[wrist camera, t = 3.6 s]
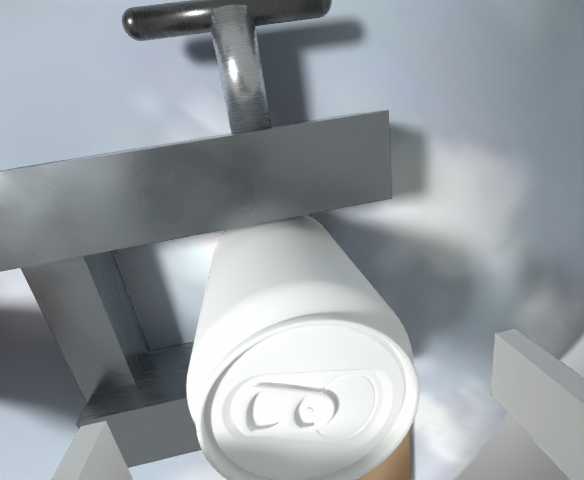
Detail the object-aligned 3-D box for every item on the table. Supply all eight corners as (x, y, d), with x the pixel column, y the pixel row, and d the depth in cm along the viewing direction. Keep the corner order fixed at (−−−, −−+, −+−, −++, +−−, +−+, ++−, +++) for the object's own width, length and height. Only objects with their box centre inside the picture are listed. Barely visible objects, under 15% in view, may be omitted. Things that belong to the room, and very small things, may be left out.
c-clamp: (123, 405, 23) (93, 476, 18) (-35, 48, 15) (-156, 14, 11) (370, 349, 25) (400, 400, 20) (343, 0, 17) (382, -48, 12)
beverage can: (321, 321, 23) (395, 501, 12) (206, 313, 22) (170, 512, 11) (346, 213, 21) (468, 314, 10) (218, 196, 19) (188, 292, 8)
